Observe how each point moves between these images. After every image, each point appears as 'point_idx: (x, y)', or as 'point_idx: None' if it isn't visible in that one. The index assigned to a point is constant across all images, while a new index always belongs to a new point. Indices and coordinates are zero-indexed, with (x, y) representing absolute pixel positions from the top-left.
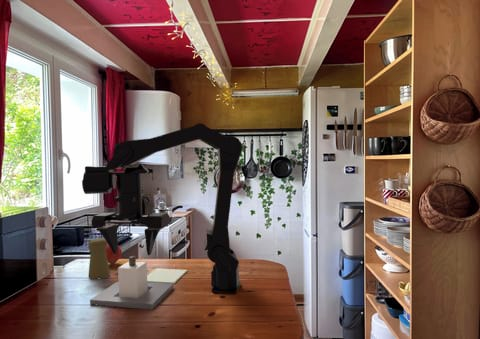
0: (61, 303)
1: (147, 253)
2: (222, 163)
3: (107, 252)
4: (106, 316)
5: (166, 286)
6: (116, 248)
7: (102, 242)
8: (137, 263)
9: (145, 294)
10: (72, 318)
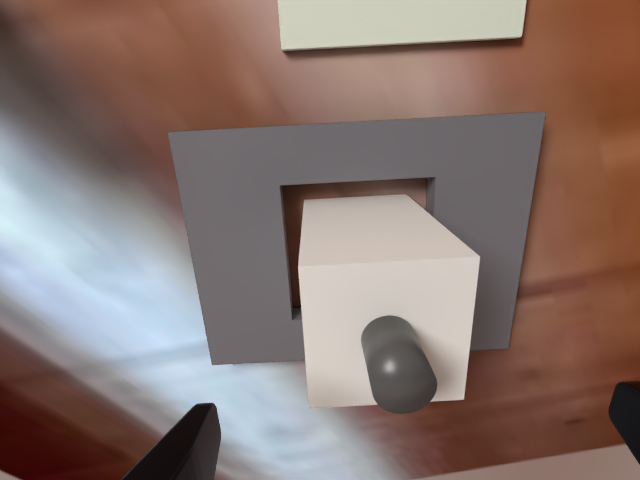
0: (86, 362)
1: (625, 441)
2: None
3: None
4: (348, 406)
5: (515, 157)
6: (200, 474)
7: None
8: (412, 301)
9: None
10: (239, 436)
